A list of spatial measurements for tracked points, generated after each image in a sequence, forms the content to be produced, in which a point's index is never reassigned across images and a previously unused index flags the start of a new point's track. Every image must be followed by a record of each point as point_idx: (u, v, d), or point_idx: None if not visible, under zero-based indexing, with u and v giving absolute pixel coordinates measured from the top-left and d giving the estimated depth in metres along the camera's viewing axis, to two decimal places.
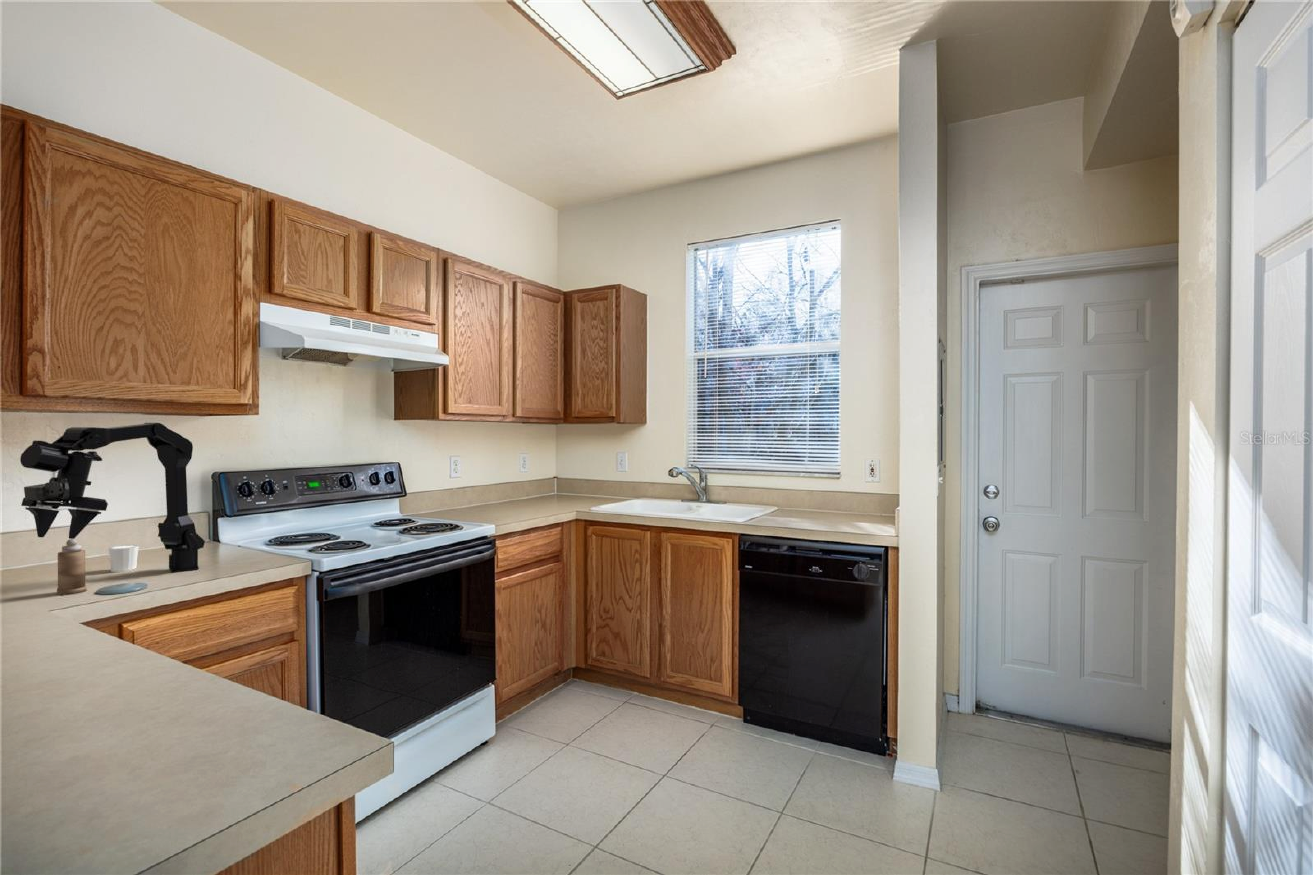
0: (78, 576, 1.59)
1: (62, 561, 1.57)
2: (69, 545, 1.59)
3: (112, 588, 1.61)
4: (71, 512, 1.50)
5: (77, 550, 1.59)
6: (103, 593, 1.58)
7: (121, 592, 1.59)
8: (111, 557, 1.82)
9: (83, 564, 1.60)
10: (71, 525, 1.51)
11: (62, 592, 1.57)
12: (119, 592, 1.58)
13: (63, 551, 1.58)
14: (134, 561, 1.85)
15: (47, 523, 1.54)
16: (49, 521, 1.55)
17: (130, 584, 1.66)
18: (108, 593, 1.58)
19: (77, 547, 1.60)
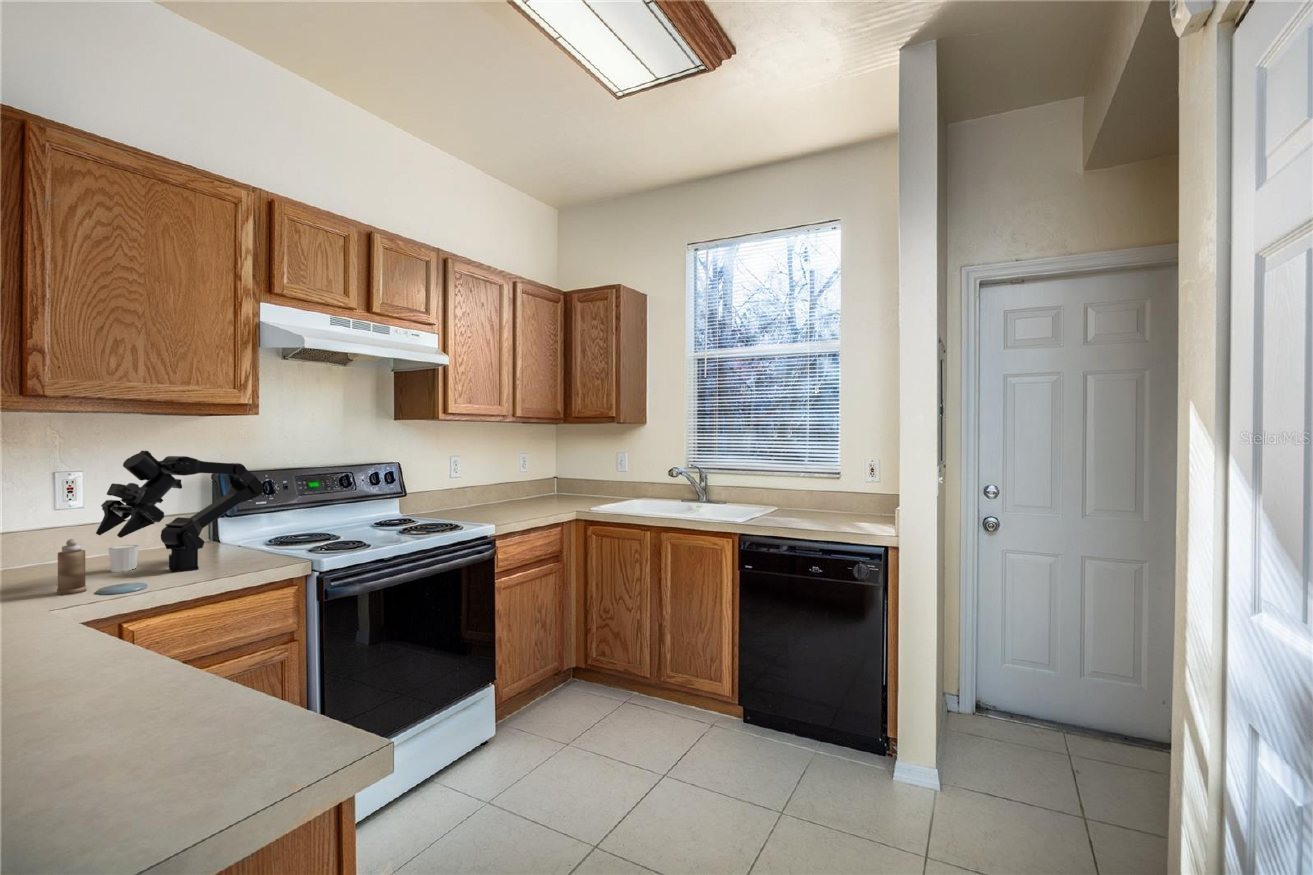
0: (78, 576, 1.59)
1: (62, 561, 1.57)
2: (69, 545, 1.59)
3: (112, 588, 1.61)
4: (132, 513, 1.68)
5: (77, 550, 1.59)
6: (103, 593, 1.58)
7: (121, 592, 1.59)
8: (111, 557, 1.82)
9: (83, 564, 1.60)
10: (125, 524, 1.67)
11: (62, 592, 1.57)
12: (119, 592, 1.58)
13: (63, 551, 1.58)
14: (134, 561, 1.85)
15: (110, 525, 1.72)
16: (113, 524, 1.72)
17: (130, 584, 1.66)
18: (108, 593, 1.58)
19: (77, 547, 1.60)
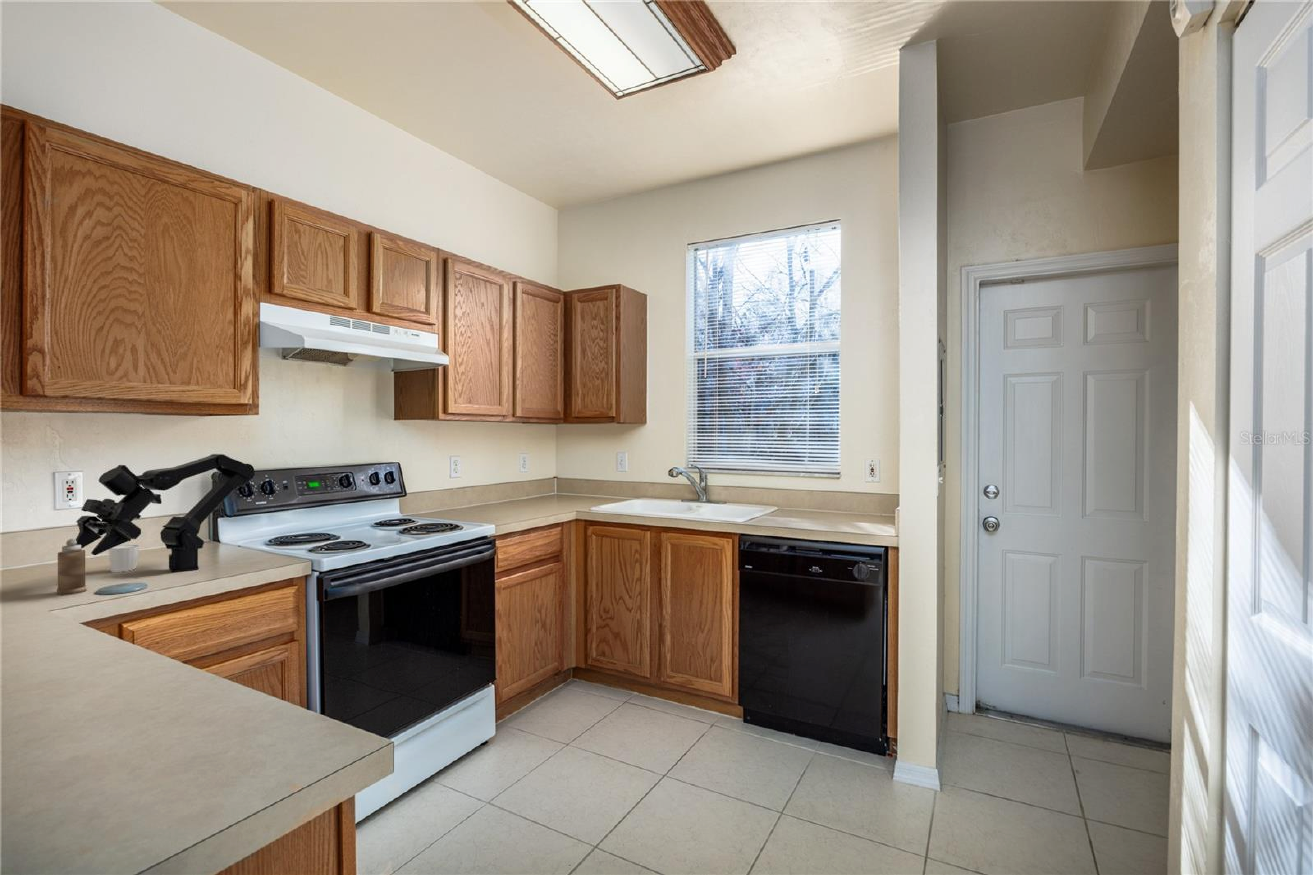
0: (78, 576, 1.59)
1: (62, 561, 1.57)
2: (69, 545, 1.59)
3: (112, 588, 1.61)
4: (107, 529, 1.62)
5: (77, 550, 1.59)
6: (103, 593, 1.58)
7: (121, 592, 1.59)
8: (111, 557, 1.82)
9: (83, 564, 1.60)
10: (100, 542, 1.61)
11: (62, 592, 1.57)
12: (119, 592, 1.58)
13: (63, 551, 1.58)
14: (134, 561, 1.85)
15: (84, 542, 1.66)
16: (88, 541, 1.67)
17: (130, 584, 1.66)
18: (108, 593, 1.58)
19: (77, 547, 1.60)
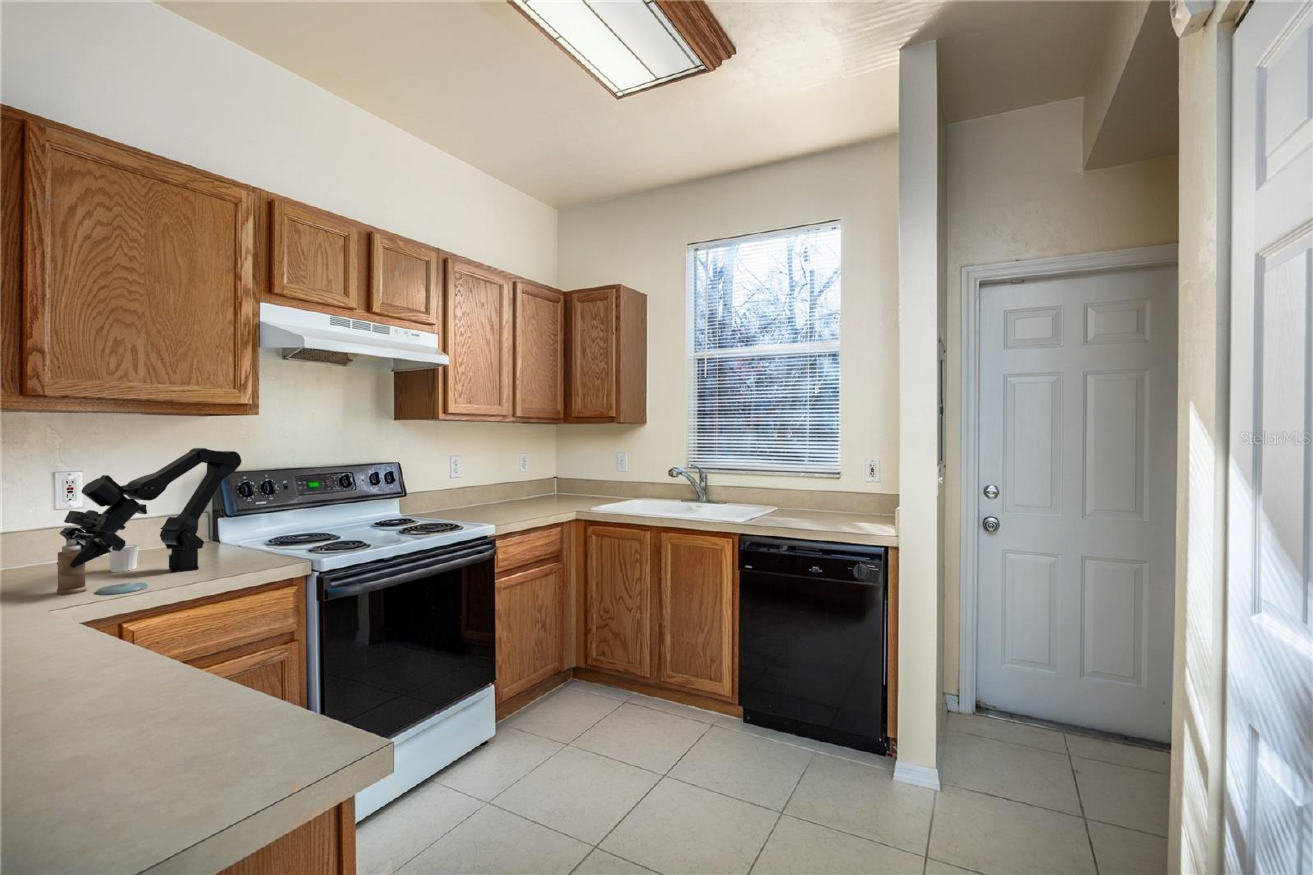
0: (78, 575, 1.59)
1: (62, 561, 1.57)
2: (69, 545, 1.59)
3: (112, 588, 1.61)
4: (86, 541, 1.60)
5: (77, 550, 1.59)
6: (103, 593, 1.58)
7: (121, 592, 1.59)
8: (111, 557, 1.82)
9: (83, 564, 1.60)
10: (79, 554, 1.59)
11: (62, 592, 1.57)
12: (119, 592, 1.58)
13: (63, 551, 1.58)
14: (134, 561, 1.85)
15: None
16: None
17: (130, 584, 1.66)
18: (108, 593, 1.58)
19: (77, 547, 1.60)
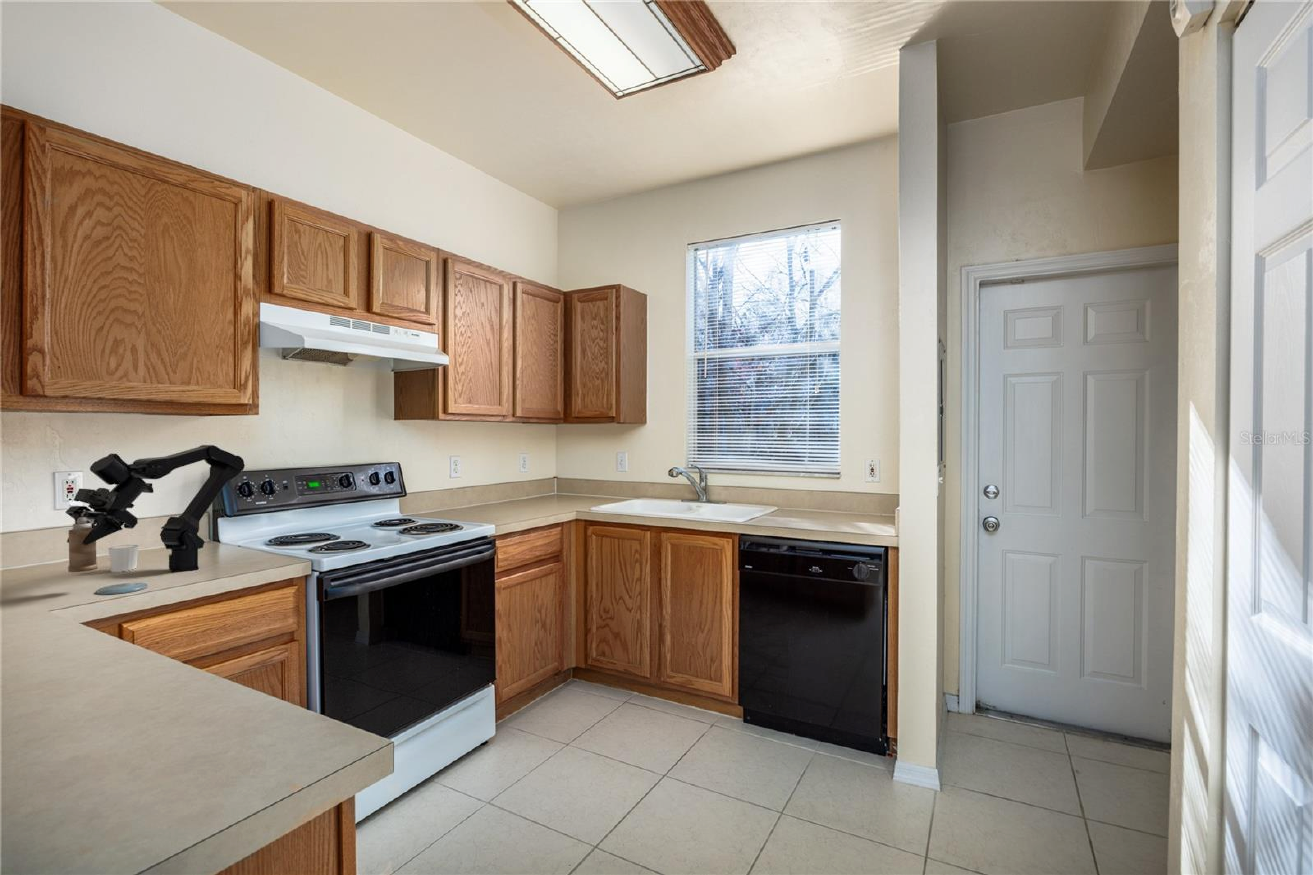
0: (90, 553, 1.60)
1: (74, 538, 1.57)
2: (80, 523, 1.59)
3: (112, 588, 1.61)
4: (98, 519, 1.60)
5: (88, 528, 1.60)
6: (103, 593, 1.58)
7: (121, 592, 1.59)
8: (111, 557, 1.82)
9: (94, 542, 1.61)
10: (91, 531, 1.59)
11: (74, 569, 1.57)
12: (119, 592, 1.58)
13: (74, 529, 1.58)
14: (134, 561, 1.85)
15: None
16: None
17: (130, 584, 1.66)
18: (108, 593, 1.58)
19: (89, 524, 1.60)
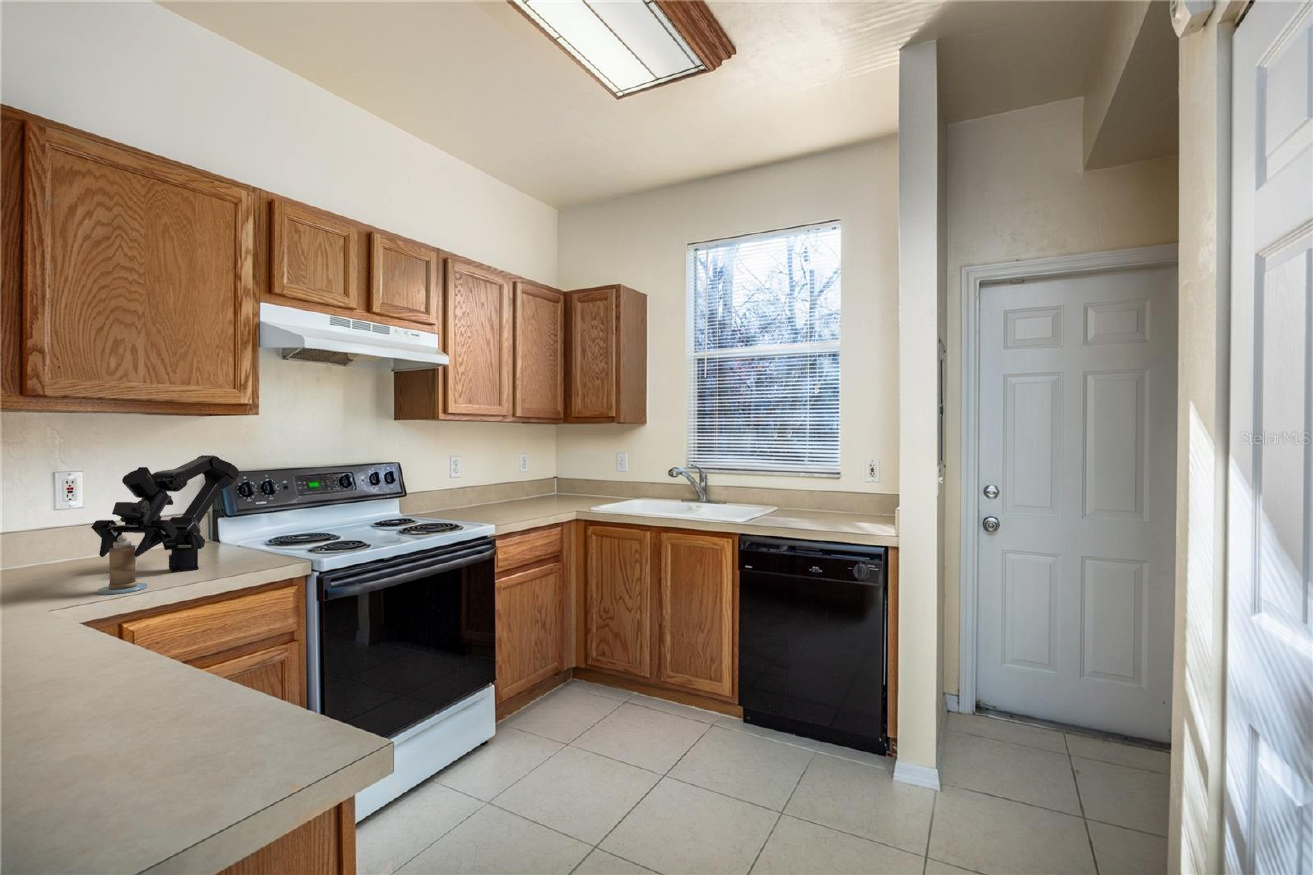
0: (133, 570, 1.63)
1: (119, 556, 1.60)
2: (122, 541, 1.62)
3: None
4: (147, 531, 1.64)
5: (130, 545, 1.63)
6: (103, 593, 1.58)
7: (121, 592, 1.59)
8: None
9: None
10: (141, 543, 1.63)
11: (119, 587, 1.60)
12: (119, 592, 1.58)
13: (117, 547, 1.61)
14: None
15: (109, 547, 1.64)
16: (111, 545, 1.64)
17: None
18: (108, 593, 1.58)
19: (130, 542, 1.63)
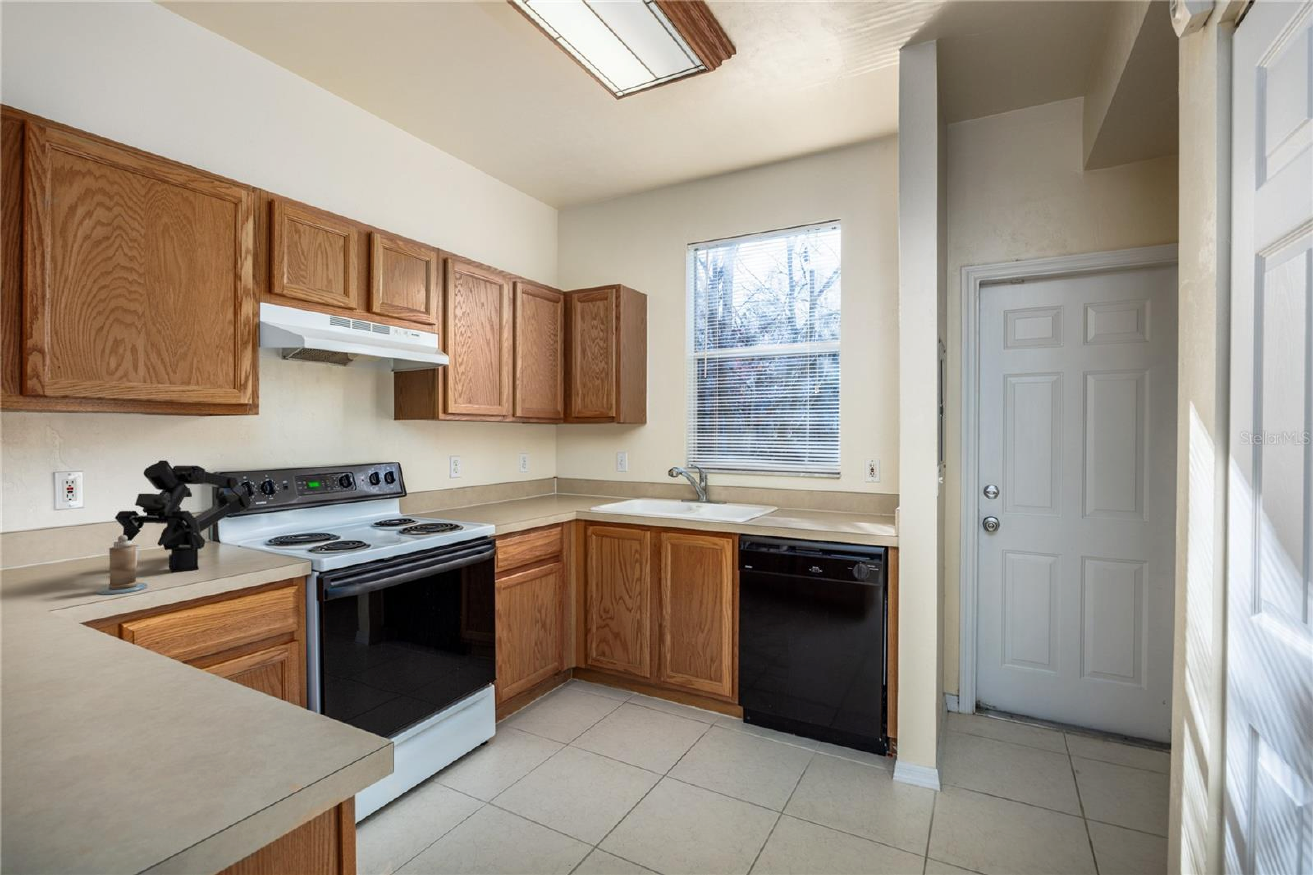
0: (133, 570, 1.63)
1: (119, 556, 1.60)
2: (122, 541, 1.62)
3: None
4: (169, 521, 1.72)
5: (130, 545, 1.63)
6: (103, 593, 1.58)
7: (121, 592, 1.59)
8: None
9: (135, 559, 1.64)
10: (164, 533, 1.71)
11: (119, 587, 1.60)
12: (119, 592, 1.58)
13: (118, 547, 1.61)
14: None
15: (130, 536, 1.72)
16: (132, 535, 1.72)
17: None
18: (108, 593, 1.58)
19: (131, 542, 1.63)
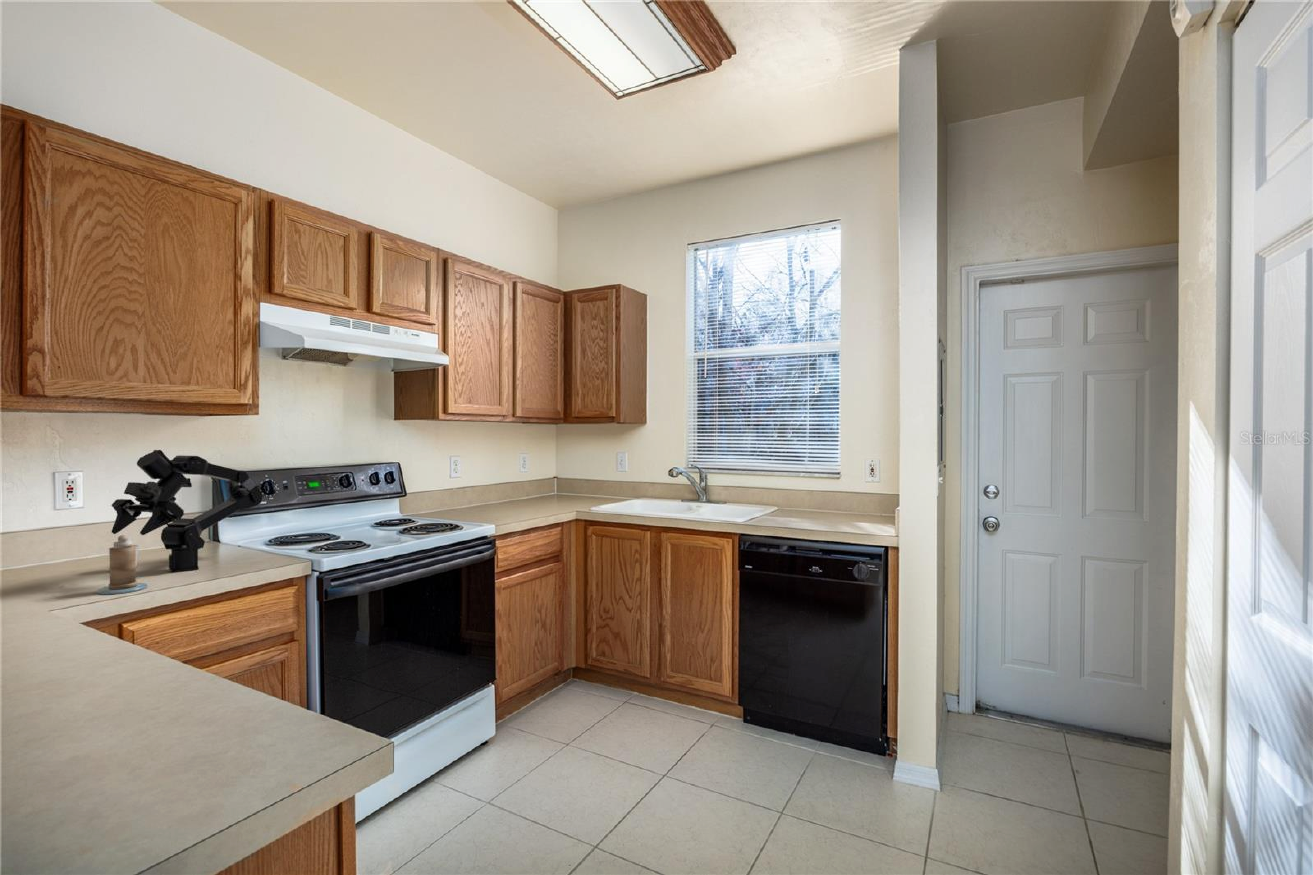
0: (133, 570, 1.63)
1: (119, 556, 1.60)
2: (122, 541, 1.62)
3: None
4: (154, 511, 1.71)
5: (130, 545, 1.63)
6: (103, 593, 1.58)
7: (121, 592, 1.59)
8: None
9: (135, 559, 1.64)
10: (147, 522, 1.70)
11: (119, 587, 1.60)
12: (119, 592, 1.58)
13: (118, 547, 1.61)
14: None
15: (123, 524, 1.73)
16: (126, 523, 1.74)
17: None
18: (108, 593, 1.58)
19: (131, 542, 1.63)
